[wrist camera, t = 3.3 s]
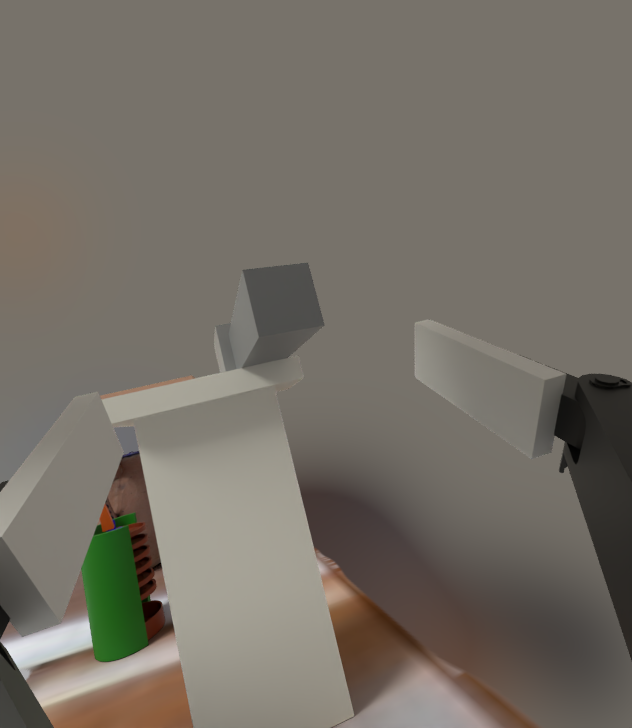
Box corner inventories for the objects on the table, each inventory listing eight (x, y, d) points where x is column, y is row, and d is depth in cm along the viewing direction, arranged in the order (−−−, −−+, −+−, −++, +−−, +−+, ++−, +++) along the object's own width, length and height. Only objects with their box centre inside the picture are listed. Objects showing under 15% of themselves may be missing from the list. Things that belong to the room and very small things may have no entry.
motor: (173, 630, 47) (145, 486, 49) (98, 675, 42) (70, 511, 44) (157, 607, 55) (133, 483, 57) (91, 642, 50) (68, 504, 52)
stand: (163, 839, 23) (83, 399, 26) (192, 697, 34) (134, 405, 38) (391, 723, 27) (297, 352, 30) (348, 630, 38) (283, 370, 41)
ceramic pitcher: (194, 537, 86) (174, 440, 89) (175, 575, 66) (149, 447, 68) (120, 561, 83) (101, 459, 85) (75, 609, 62) (52, 472, 65)
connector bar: (241, 340, 19) (220, 255, 19) (223, 386, 39) (213, 345, 40) (339, 322, 21) (318, 245, 21) (273, 375, 41) (263, 336, 42)
